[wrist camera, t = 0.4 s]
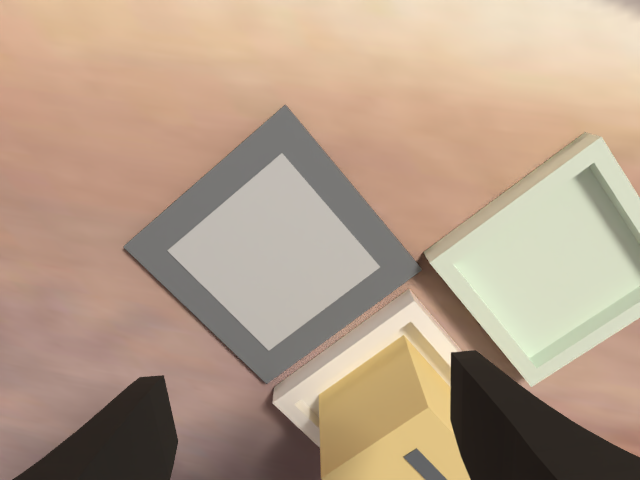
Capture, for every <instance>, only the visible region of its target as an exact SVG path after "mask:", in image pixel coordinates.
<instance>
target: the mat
mask: <svg viewBox="0 0 640 480" xmlns="http://www.w3.org/2000/svg"><path fill="white" fill-rule="evenodd" d="M124 248H125V249H126V250H127V251H128V252H129V253H130V254H131V255H132V256H133V257H134V258H135V259H136V260H137V261H139V262H140V263H141V264H142V265H143V266H144V267H145V268H146V269H147V270H148V271H149V272H150V273H151V274H152V275H153V276H154V277H155V278H156V279H157V280H158V281H159V282H160V283H162V284H163V285H164V286H165V287H166V288H167V289H168V290H169V291H170V292H171V293H172V294H173V295H174V296H175V297H176V298H177V299H178V300H179V301H180V302H181V303H182V304H183V305H185V306H186V307H187V308H188V309H189V310H190V311H191V312H192V313H193V314H194V315H195V316H196V317H197V318H198V319H199V320H200V321H201V322H202V323H203V324H204V325H205V326H206V327H208V328H209V329H210V330H211V331H212V332H213V333H214V334H215V335H216V336H217V337H218V338H219V339H220V340H221V341H222V342H223V343H224V344H225V345H226V346H227V347H228V348H229V349H231V350H232V351H233V352H234V353H235V354H236V355H237V356H238V357H239V358H240V359H241V360H242V361H243V362H244V363H245V364H246V365H247V366H248V367H249V368H250V369H251V370H252V371H254V372H255V373H256V374H257V375H258V376H259V377H260V378H261V379H262V380H263V381H264V382H265V383H266V384H267V383H269V382H270V381H271V380H273V379H274V378H276V377H277V376H278V375H280V374H281V373H282V372H284V371H285V370H286V369H288V368H289V367H291V366H292V365H293V364H295V363H296V362H297V361H299V360H300V359H301V358H303V357H304V356H306V355H307V354H308V353H310V352H311V351H312V350H314V349H315V348H316V347H318V346H319V345H321V344H322V343H323V342H325V341H326V340H327V339H329V338H330V337H331V336H333V335H334V334H336V333H337V332H338V331H340V330H341V329H342V328H344V327H345V326H346V325H348V324H349V323H351V322H352V321H353V320H355V319H356V318H357V317H359V316H360V315H361V314H363V313H364V312H366V311H367V310H368V309H370V308H371V307H372V306H374V305H375V304H376V303H378V302H379V301H381V300H382V299H383V298H385V297H386V296H387V295H389V294H390V293H391V292H393V291H394V290H395V289H397V288H398V287H400V286H401V285H402V284H404V283H405V282H406V281H408V280H409V279H410V278H412V277H413V276H415V275H416V274H417V273H419V272H420V271H421V270H422V269H421V267H420V266H419V265H418V263H417V262H416V261H415V260H414V259H413V257H412V256H411V255H410V254H409V253H408V251H407V250H406V249H405V248H404V247H403V245H402V244H401V243H400V242H399V241H398V239H397V238H396V237H395V236H394V235H393V233H392V232H391V231H390V230H389V229H388V227H387V226H386V225H385V224H384V222H383V221H382V220H381V219H380V218H379V216H378V215H377V214H376V213H375V212H374V210H373V209H372V208H371V207H370V206H369V204H368V203H367V202H366V201H365V200H364V198H363V197H362V196H361V195H360V194H359V192H358V191H357V190H356V189H355V188H354V186H353V185H352V184H351V183H350V182H349V180H348V179H347V178H346V177H345V176H344V174H343V173H342V172H341V171H340V169H339V168H338V167H337V166H336V165H335V163H334V162H333V161H332V160H331V159H330V157H329V156H328V155H327V154H326V153H325V151H324V150H323V149H322V148H321V147H320V145H319V144H318V143H317V142H316V141H315V139H314V138H313V137H312V136H311V135H310V133H309V132H308V131H307V130H306V129H305V127H304V126H303V125H302V124H301V123H300V121H299V120H298V119H297V118H296V116H295V115H294V114H293V113H292V112H291V110H290V109H289V108H288V107H287V106H286V104H285V105H284V106H283V107H282V108H281V109H280V110H279V111H277V112H276V113H275V114H274V115H273V116H272V117H271V118H269V119H268V120H267V121H266V122H265V123H264V124H263V125H261V126H260V127H259V128H258V129H257V130H256V131H255V132H253V133H252V134H251V135H250V136H249V137H248V138H247V139H245V140H244V141H243V142H242V143H241V144H240V145H239V146H237V147H236V148H235V149H234V150H233V151H232V152H231V153H230V154H228V155H227V156H226V157H225V158H224V159H223V160H222V161H220V162H219V163H218V164H217V165H216V166H215V167H214V168H212V169H211V170H210V171H209V172H208V173H207V174H206V175H204V176H203V177H202V178H201V179H200V180H199V181H198V182H196V183H195V184H194V185H193V186H192V187H191V188H190V189H188V190H187V191H186V192H185V193H184V194H183V195H182V196H180V197H179V198H178V199H177V200H176V201H175V202H174V203H172V204H171V205H170V206H169V207H168V208H167V209H166V210H164V211H163V212H162V213H161V214H160V215H159V216H158V217H156V218H155V219H154V220H153V221H152V222H151V223H150V224H148V225H147V226H146V227H145V228H144V229H143V230H142V231H140V232H139V233H138V234H137V235H136V236H135V237H134V238H133V239H131V240H130V241H129V242H128V243H127V244H126V245H125V246H124Z"/></svg>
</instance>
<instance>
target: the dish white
mask: <svg viewBox="0 0 640 480" xmlns="http://www.w3.org/2000/svg"><path fill="white" fill-rule="evenodd" d="M403 335H404V336H405V337H406V338H407V339H408V340H409V341H410V343H411V344H412V345H413V346H414V347H415V348H416V349H417V350H418V352H419V353H420V354H421V355H422V356H423V357H424V358H425V359H426V361H427V362H428V363H429V364H430V365H431V366H432V367H433V368H434V370H435V371H436V372H437V373H438V374H439V375H440V376H441V377H442V379H443V380H444V381H445V382H446V383H447V384H448V385H449V386H450V388H451V352H462V350H461V349H460V348H459V346H458V345H457V344H456V343H455V342H454V341H453V339H452V338H451V337H450V336H449V335H448V334H447V332H446V331H445V330H444V329H443V328H442V327H441V325H440V324H439V323H438V322H437V321H436V320H435V318H434V317H433V316H432V315H431V314H430V313H429V311H428V310H427V309H426V308H425V307H424V305H423V304H422V303H421V302H420V301H419V300H418V298H417V297H416V296H415V295H414V294H413V293H412V291H411V290H410V289H408V290H406V291H405V292H404V293H402V294H401V295H399V296H398V297H397V298H395V299H394V300H393V301H391V302H390V303H389V304H387V305H386V306H384V307H383V308H382V309H380V310H379V311H378V312H376V313H375V314H373V315H372V316H371V317H369V318H368V319H367V320H365V321H364V322H362V323H361V324H360V325H358V326H357V327H356V328H354V329H353V330H351V331H350V332H349V333H347V334H346V335H345V336H343V337H342V338H341V339H339V340H338V341H336V342H335V343H334V344H332V345H331V346H330V347H328V348H327V349H325V350H324V351H323V352H321V353H320V354H319V355H317V356H316V357H314V358H313V359H312V360H310V361H309V362H308V363H306V364H305V365H304V366H302V367H301V368H299V369H298V370H297V371H295V372H294V373H293V374H291V375H290V376H288V377H287V378H286V379H284V380H283V381H282V382H280V383H279V384H277V385H276V386H275V387H274V393H273V404H274V405H275V406H276V407H277V408H278V409H279V410H280V411H281V412H282V413H283V414H284V415H285V416H287V417H288V418H289V419H290V420H291V421H292V422H293V423H294V424H295V425H296V426H297V427H298V428H299V429H300V430H301V431H302V432H303V433H305V434H306V435H307V436H308V437H309V438H310V439H311V440H312V441H313V442H314V443H315V444H316V445H317V446H318V447H319V448H320V427H319V394H321V393H322V392H324V391H325V390H326V389H328V388H329V387H331V386H332V385H333V384H335V383H336V382H338V381H339V380H340V379H342V378H343V377H345V376H346V375H348V374H349V373H350V372H352V371H353V370H355V369H356V368H357V367H359V366H360V365H362V364H363V363H364V362H366V361H367V360H369V359H370V358H372V357H373V356H374V355H376V354H377V353H379V352H380V351H381V350H383V349H384V348H386V347H387V346H388V345H390V344H391V343H393V342H394V341H396V340H397V339H398V338H400V337H401V336H403Z"/></svg>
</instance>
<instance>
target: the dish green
mask: <svg viewBox="0 0 640 480" xmlns="http://www.w3.org/2000/svg"><path fill="white" fill-rule="evenodd" d="M423 253H424V254H425V256H426V258H427V259H428V261H429V263H430V264H431V265H432V266H433V268H434V269H435V270H436V271H437V273H438V274H439V275H440V276H441V277H442V279H443V280H444V281H445V282H446V284H447V285H448V286H449V287H450V288H451V290H452V291H453V292H454V293H455V295H456V296H457V297H458V298H459V299H460V301H461V302H462V303H463V304H464V305H465V307H466V308H467V309H468V310H469V312H470V313H471V314H472V315H473V316H474V318H475V319H476V320H477V321H478V323H479V324H480V325H481V326H482V327H483V329H484V330H485V331H486V332H487V334H488V335H489V336H490V337H491V338H492V340H493V341H494V342H495V343H496V344H497V346H498V347H499V348H500V349H501V351H502V352H503V353H504V354H505V355H506V357H507V358H508V359H509V360H510V362H511V363H512V364H513V365H514V366H515V368H516V369H517V370H518V371H519V373H520V374H521V375H522V376H523V377H524V379H525V380H526V381H527V382H528V383H529V385H530V386H531V387H532V386H534V385H535V384H537V383H538V382H540V381H542V380H543V379H545V378H546V377H548V376H549V375H551V374H553V373H554V372H556V371H557V370H559V369H560V368H562V367H563V366H565V365H567V364H568V363H570V362H571V361H573V360H574V359H576V358H578V357H579V356H581V355H582V354H584V353H585V352H587V351H588V350H590V349H592V348H593V347H595V346H596V345H598V344H599V343H601V342H602V341H604V340H606V339H607V338H609V337H610V336H612V335H613V334H615V333H617V332H618V331H620V330H621V329H623V328H624V327H626V326H627V325H629V324H631V323H632V322H634V321H635V320H637V319H638V318H640V198H639V196H638V194H637V193H636V191H635V190H634V188H633V186H632V185H631V183H630V182H629V180H628V178H627V177H626V175H625V174H624V172H623V170H622V169H621V167H620V166H619V164H618V162H617V161H616V159H615V158H614V156H613V154H612V153H611V151H610V150H609V148H608V146H607V145H606V143H605V142H604V140H603V138H602V137H601V136H597V135H593V134H590V133H586V132H585V133H583V134H582V135H581V136H579V137H578V138H577V139H575V140H574V141H572V142H571V143H570V144H568V145H567V146H566V147H564V148H563V149H562V150H560V151H559V152H558V153H556V154H555V155H554V156H552V157H551V158H550V159H548V160H547V161H546V162H544V163H543V164H541V165H540V166H539V167H537V168H536V169H535V170H533V171H532V172H531V173H529V174H528V175H527V176H525V177H524V178H523V179H521V180H520V181H519V182H517V183H516V184H515V185H513V186H512V187H511V188H509V189H508V190H506V191H505V192H504V193H502V194H501V195H500V196H498V197H497V198H496V199H494V200H493V201H492V202H490V203H489V204H488V205H486V206H485V207H484V208H482V209H481V210H480V211H478V212H477V213H475V214H474V215H473V216H471V217H470V218H469V219H467V220H466V221H465V222H463V223H462V224H461V225H459V226H458V227H457V228H455V229H454V230H453V231H451V232H450V233H449V234H447V235H446V236H444V237H443V238H442V239H440V240H439V241H438V242H436V243H435V244H434V245H432V246H431V247H430V248H428V249H427V250H426V251H424V252H423Z"/></svg>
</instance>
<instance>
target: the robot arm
mask: <svg viewBox="0 0 640 480" xmlns="http://www.w3.org/2000/svg"><path fill="white" fill-rule="evenodd" d="M450 421H451V424H452V428H453V431H454V435H455V438H456V442H457V445H458V448H459V452H460V455H461V458H462V460H463V463H464V465H465V468H466V470H467V472H468V475H469V477H470V479H471V480H640V457H638V456H635V455H633V454H631V453H629V452H627V451H625V450H623V449H621V448H619V447H617V446H615V445H613V444H611V443H610V442H608V441H606V440H604V439H603V438H601V437H599V436H597V435H595V434H594V433H592V432H590V431H588V430H586V429H585V428H583V427H581V426H580V425H578V424H576V423H575V422H573V421H571V420H570V419H568V418H567V417H565V416H564V415H562V414H561V413H559V412H558V411H556V410H555V409H553V408H551V407H550V406H548V405H547V404H546V403H544V402H543V401H541V400H540V399H538V398H537V397H536V396H534V395H533V394H531V393H530V392H529V391H527V390H526V389H525V388H523V387H522V386H521V385H519V384H518V383H517V382H515V381H514V380H513V379H511V378H510V377H509V376H508V375H506V374H505V373H504V372H502V371H501V370H500V369H499V368H497V367H496V366H495V365H494V364H492V363H491V362H490V361H489V360H487V359H486V358H485V357H483V356H482V355H481V354H480V353H478V352H477V351H475V350H474V351H462V352H451V391H450ZM177 445H178V438H177V434H176V429H175V424H174V420H173V415H172V411H171V406H170V402H169V397H168V393H167V388H166V383H165V379H164V375H163V376H150V377H140V378H138V379H137V380H136V381H134V382H133V383H132V384H131V385H129V386H128V387H127V388H126V389H125V390H124V391H122V392H121V393H120V394H119V395H118V396H117V397H116V398H114V399H113V400H112V401H111V402H110V403H109V404H108V405H107V406H105V407H104V408H103V409H102V410H101V411H100V412H98V413H97V414H96V415H95V416H94V417H93V418H92V419H90V420H89V421H88V422H87V423H86V424H85V425H83V426H82V427H81V428H80V429H79V430H77V431H76V432H75V433H74V434H72V435H71V436H70V437H69V438H67V439H66V440H65V441H64V442H62V443H61V444H60V445H59V446H57V447H56V448H55V449H54V450H52V451H51V452H50V453H49V454H47V455H46V456H45V457H44V458H42V459H41V460H40V461H38V462H37V463H36V464H34V465H33V466H31V467H30V468H29V469H27V470H26V471H25V472H23V473H22V474H20V475H19V476H17V477H16V478H14V479H13V480H170V477H171V473H172V469H173V464H174V460H175V455H176V450H177Z"/></svg>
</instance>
